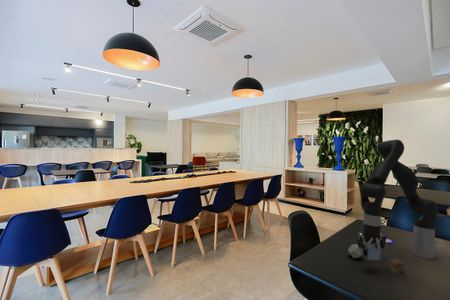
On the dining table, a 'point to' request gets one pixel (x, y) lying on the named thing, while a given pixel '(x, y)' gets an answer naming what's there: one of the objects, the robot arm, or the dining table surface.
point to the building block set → (386, 239)
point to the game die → (355, 251)
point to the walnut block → (396, 265)
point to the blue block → (373, 253)
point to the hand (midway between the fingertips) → (371, 255)
